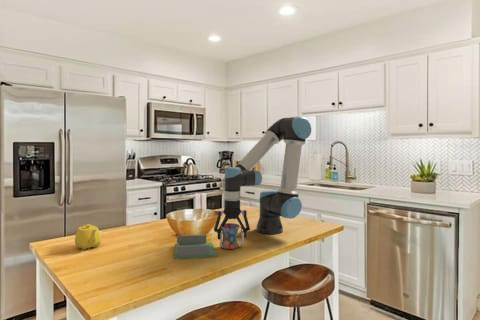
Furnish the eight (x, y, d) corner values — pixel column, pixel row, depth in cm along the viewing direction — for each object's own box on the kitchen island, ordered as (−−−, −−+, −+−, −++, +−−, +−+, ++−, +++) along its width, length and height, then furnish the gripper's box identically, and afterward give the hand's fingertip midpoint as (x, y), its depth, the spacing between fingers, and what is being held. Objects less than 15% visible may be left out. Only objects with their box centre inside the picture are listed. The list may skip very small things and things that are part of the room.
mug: (227, 252, 148) (227, 229, 148) (216, 246, 156) (216, 224, 155) (247, 247, 156) (248, 225, 155) (236, 242, 163) (236, 221, 162)
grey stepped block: (212, 243, 160) (212, 233, 160) (216, 256, 142) (216, 245, 142) (174, 245, 157) (174, 235, 156) (174, 258, 139) (174, 247, 139)
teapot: (107, 249, 150) (107, 226, 149) (82, 255, 143) (81, 231, 142) (94, 240, 163) (94, 219, 163) (70, 245, 156) (70, 223, 155)
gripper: (253, 197, 160) (252, 241, 161) (208, 198, 156) (207, 243, 157) (257, 200, 153) (256, 246, 154) (209, 201, 149) (209, 249, 150)
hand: (231, 245), depth 156 cm, fingers closed on mug, 10 cm apart
